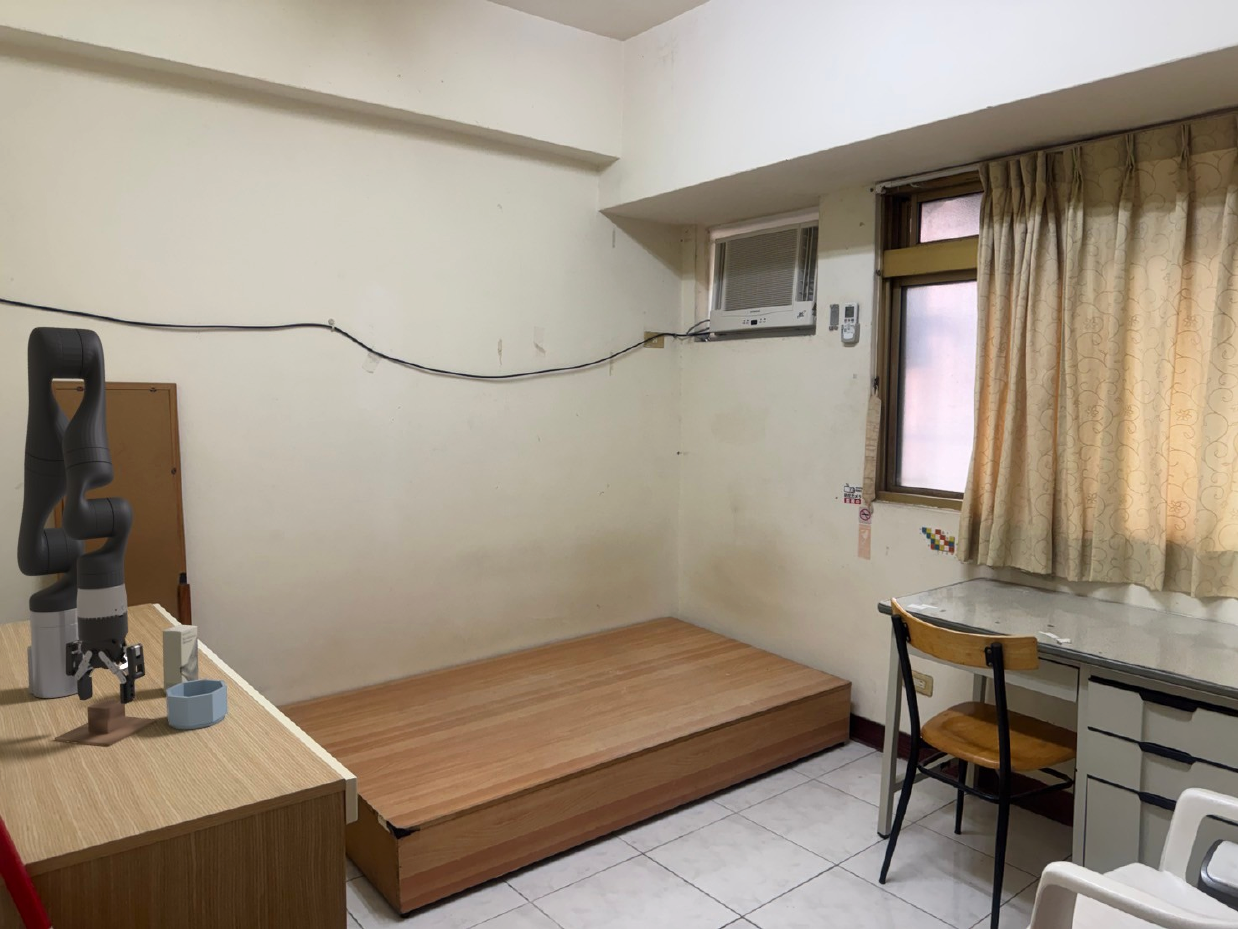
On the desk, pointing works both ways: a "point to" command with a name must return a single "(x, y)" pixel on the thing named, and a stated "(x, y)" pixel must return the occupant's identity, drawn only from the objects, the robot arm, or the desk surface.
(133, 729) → the lid
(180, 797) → the desk surface
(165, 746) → the desk surface
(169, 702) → the bowl
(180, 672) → the box
